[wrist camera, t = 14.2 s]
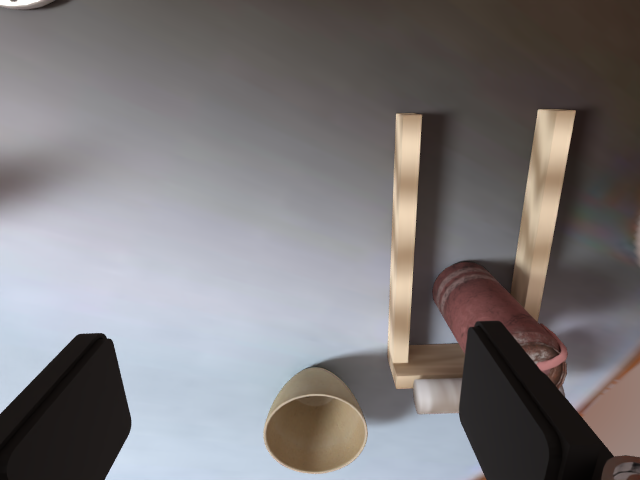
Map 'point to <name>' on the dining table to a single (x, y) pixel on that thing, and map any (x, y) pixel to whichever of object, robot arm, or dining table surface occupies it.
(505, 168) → the dining table surface
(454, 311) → the can
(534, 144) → the bay
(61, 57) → the dining table surface
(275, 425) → the flower pot
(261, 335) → the dining table surface
